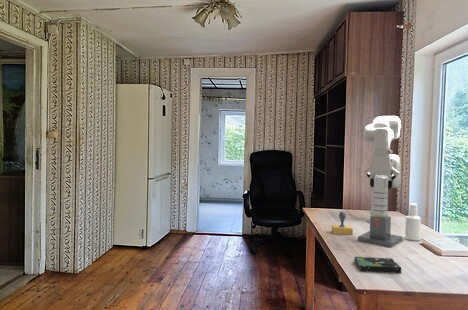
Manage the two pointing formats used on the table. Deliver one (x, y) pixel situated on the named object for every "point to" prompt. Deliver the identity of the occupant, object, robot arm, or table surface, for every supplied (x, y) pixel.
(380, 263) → the disk drive
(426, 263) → the table surface
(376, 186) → the block
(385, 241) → the jack stand base
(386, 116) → the robot arm
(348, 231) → the rubber stamp
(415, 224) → the spray bottle
